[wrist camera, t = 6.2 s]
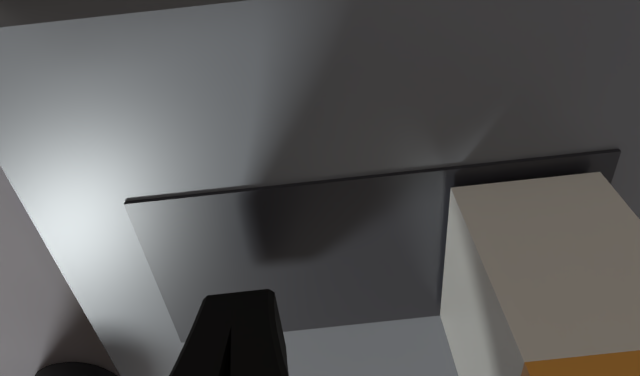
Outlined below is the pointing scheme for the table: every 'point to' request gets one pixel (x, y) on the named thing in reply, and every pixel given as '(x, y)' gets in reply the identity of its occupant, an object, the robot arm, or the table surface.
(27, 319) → the table surface
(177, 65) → the breaker panel
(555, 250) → the block
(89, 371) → the cylinder
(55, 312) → the table surface
